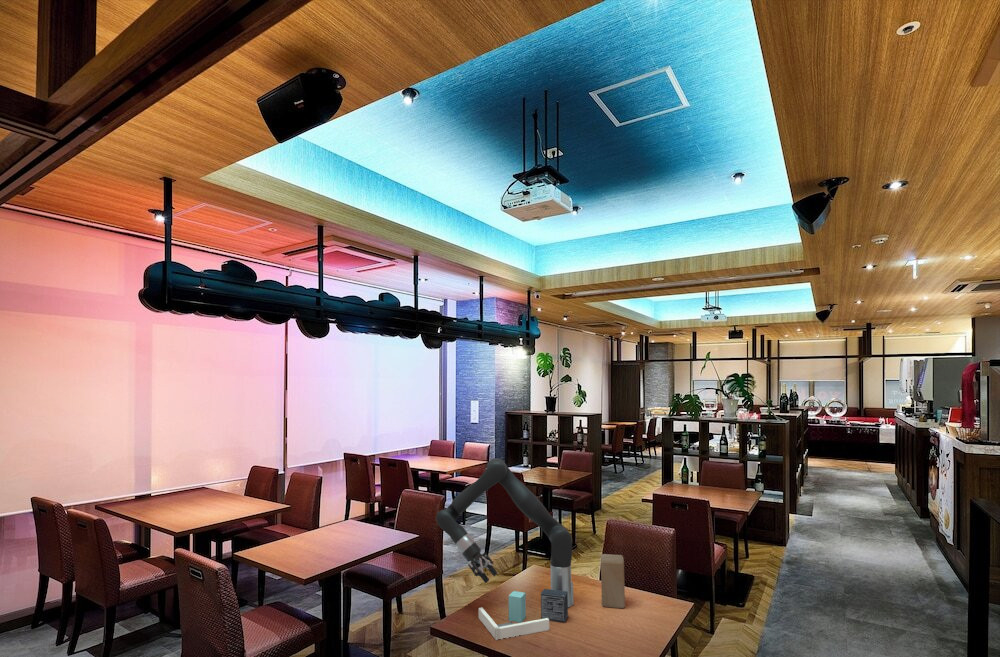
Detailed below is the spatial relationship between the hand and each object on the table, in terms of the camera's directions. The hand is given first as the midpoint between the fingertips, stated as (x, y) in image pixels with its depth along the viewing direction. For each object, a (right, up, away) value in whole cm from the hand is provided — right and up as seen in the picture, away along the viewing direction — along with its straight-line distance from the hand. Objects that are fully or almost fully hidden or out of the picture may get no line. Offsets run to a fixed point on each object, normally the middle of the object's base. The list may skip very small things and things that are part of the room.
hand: (491, 578), depth 228 cm
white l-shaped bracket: (+9, -14, -10) cm, 19 cm away
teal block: (+11, -14, -6) cm, 19 cm away
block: (+54, -16, +9) cm, 57 cm away
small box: (+27, -15, -5) cm, 31 cm away
